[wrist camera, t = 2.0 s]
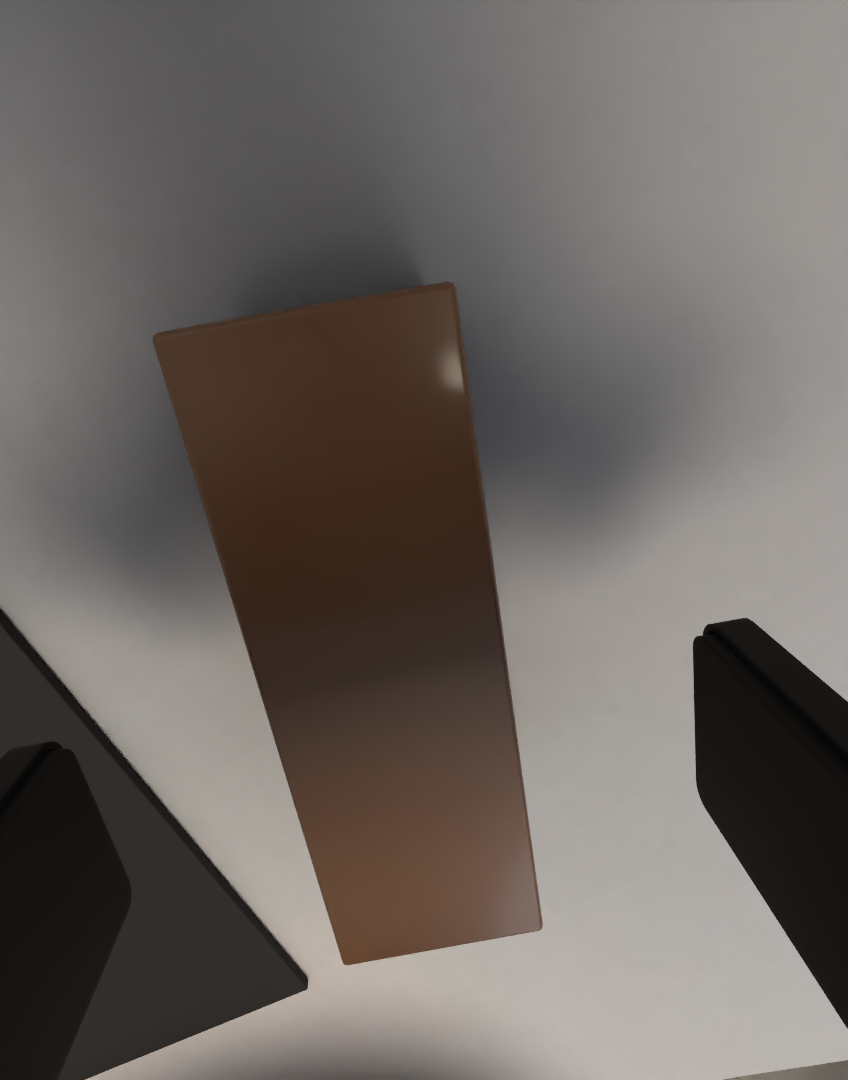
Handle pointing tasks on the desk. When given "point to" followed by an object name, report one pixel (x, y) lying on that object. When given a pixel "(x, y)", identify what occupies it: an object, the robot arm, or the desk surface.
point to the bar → (368, 605)
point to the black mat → (146, 895)
